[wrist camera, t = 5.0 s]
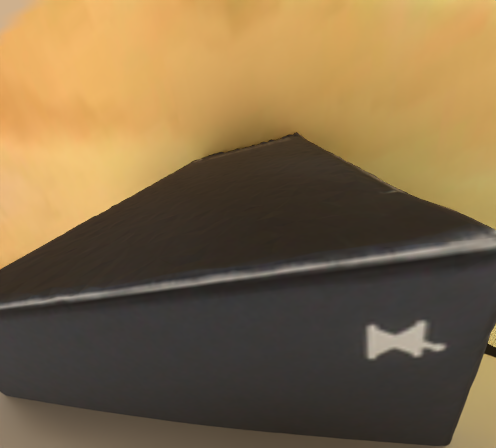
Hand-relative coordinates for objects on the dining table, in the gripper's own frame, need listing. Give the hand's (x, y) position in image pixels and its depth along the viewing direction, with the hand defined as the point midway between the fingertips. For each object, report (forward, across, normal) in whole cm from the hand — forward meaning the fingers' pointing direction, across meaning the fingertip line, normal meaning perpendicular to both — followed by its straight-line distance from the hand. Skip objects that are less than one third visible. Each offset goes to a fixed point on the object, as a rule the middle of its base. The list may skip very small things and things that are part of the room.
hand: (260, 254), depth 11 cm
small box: (+3, 0, 0) cm, 3 cm away
